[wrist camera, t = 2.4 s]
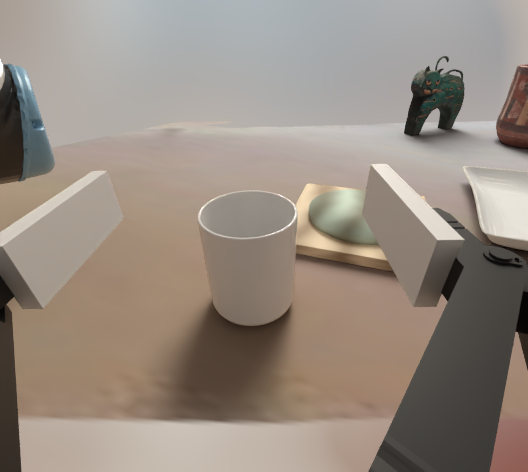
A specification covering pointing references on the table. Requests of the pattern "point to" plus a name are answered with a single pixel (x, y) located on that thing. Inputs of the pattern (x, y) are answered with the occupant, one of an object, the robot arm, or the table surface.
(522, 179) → the square plate
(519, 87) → the pottery
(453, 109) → the ceramic cat
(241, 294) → the mug
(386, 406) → the table surface
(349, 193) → the serving board
